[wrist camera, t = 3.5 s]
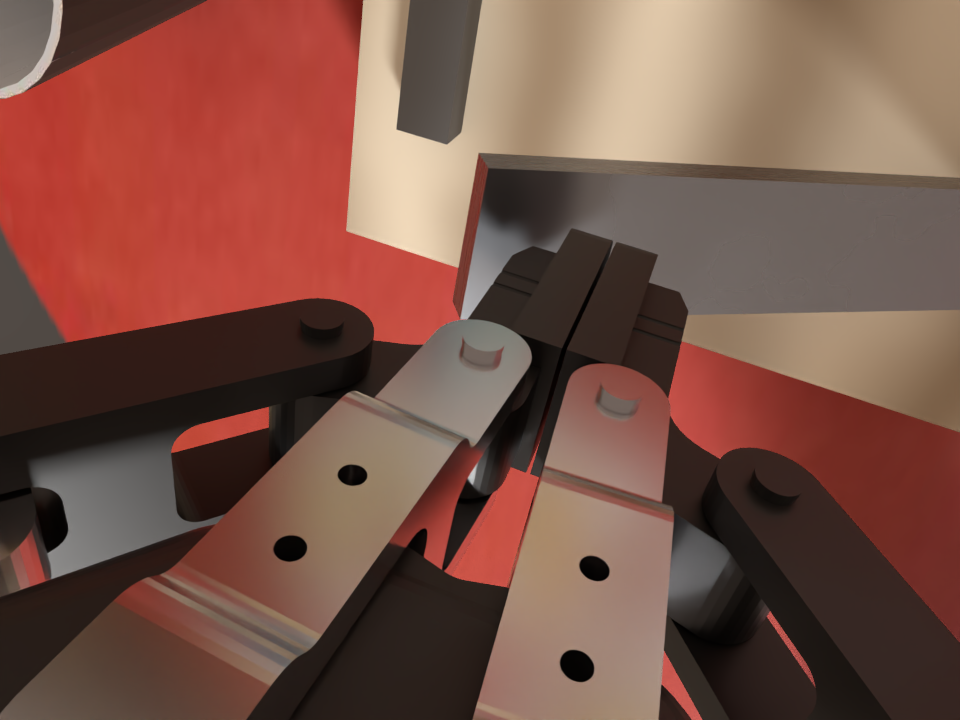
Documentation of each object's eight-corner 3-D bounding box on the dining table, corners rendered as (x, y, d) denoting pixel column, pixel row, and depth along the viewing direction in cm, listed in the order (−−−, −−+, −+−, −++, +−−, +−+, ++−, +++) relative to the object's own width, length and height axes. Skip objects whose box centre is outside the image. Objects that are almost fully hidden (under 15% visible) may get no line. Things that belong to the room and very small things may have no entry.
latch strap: (1130, 186, 18) (1153, 198, 18) (1052, 294, 20) (1072, 308, 19) (478, 152, 13) (488, 168, 13) (452, 301, 15) (460, 319, 14)
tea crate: (1350, -39, 20) (1603, 15, 13) (1042, 366, 27) (1112, 518, 21) (465, -226, 24) (346, -252, 17) (415, 172, 31) (320, 252, 25)
